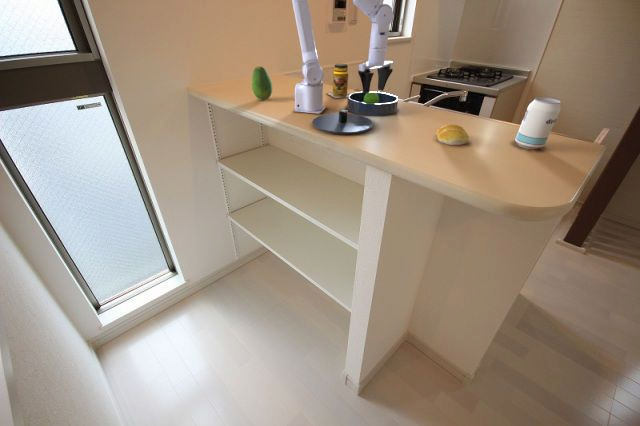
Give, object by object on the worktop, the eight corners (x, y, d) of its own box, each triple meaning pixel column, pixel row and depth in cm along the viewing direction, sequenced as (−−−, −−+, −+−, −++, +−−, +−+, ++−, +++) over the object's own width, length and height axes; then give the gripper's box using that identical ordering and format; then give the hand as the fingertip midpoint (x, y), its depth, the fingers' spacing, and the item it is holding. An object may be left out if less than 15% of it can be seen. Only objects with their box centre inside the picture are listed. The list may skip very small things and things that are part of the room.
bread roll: (438, 145, 81) (442, 130, 79) (434, 134, 88) (437, 120, 86) (470, 147, 80) (475, 133, 77) (463, 136, 87) (467, 122, 85)
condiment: (335, 98, 122) (337, 66, 115) (327, 93, 128) (328, 62, 121) (351, 97, 124) (353, 65, 117) (342, 92, 131) (344, 62, 124)
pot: (342, 113, 105) (342, 101, 102) (352, 100, 119) (353, 90, 117) (394, 118, 101) (396, 105, 98) (398, 104, 115) (399, 93, 113)
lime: (368, 110, 107) (367, 94, 104) (361, 107, 111) (360, 92, 108) (382, 107, 108) (381, 91, 105) (374, 104, 112) (373, 89, 109)
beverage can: (535, 152, 77) (557, 105, 70) (508, 144, 82) (526, 99, 75) (547, 147, 81) (568, 101, 74) (520, 139, 85) (538, 95, 78)
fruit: (252, 97, 121) (248, 65, 114) (271, 96, 123) (269, 64, 116) (254, 102, 115) (250, 68, 108) (274, 101, 116) (272, 67, 110)
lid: (301, 128, 91) (300, 113, 88) (329, 113, 104) (330, 100, 102) (358, 140, 83) (359, 124, 81) (381, 122, 97) (382, 108, 94)
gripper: (383, 45, 105) (379, 86, 113) (353, 48, 98) (350, 91, 105) (399, 47, 100) (393, 90, 108) (369, 50, 93) (365, 95, 101)
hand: (373, 91), depth 106 cm, fingers open, 7 cm apart
